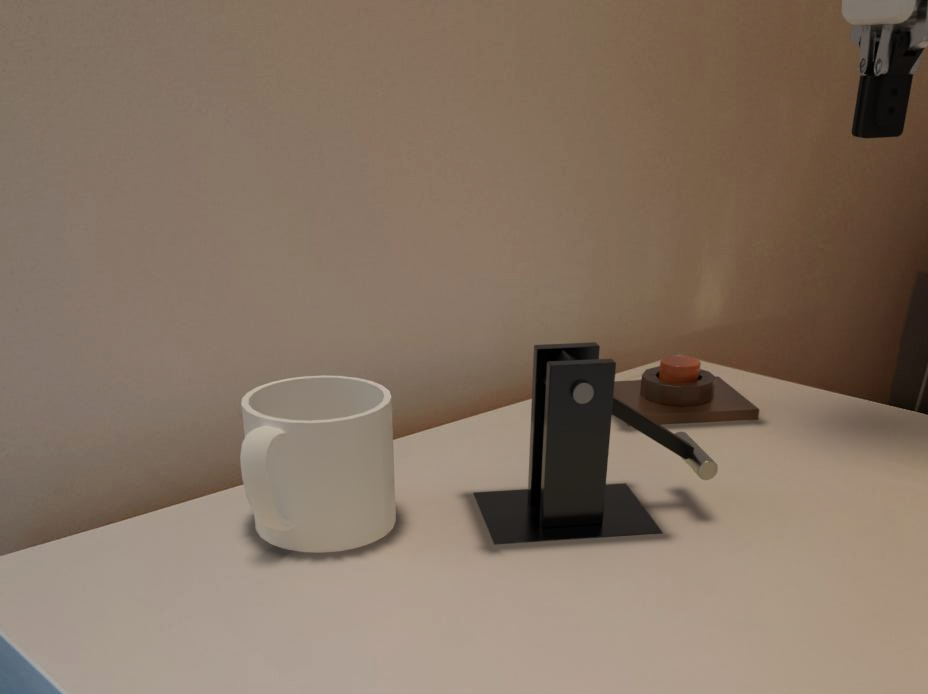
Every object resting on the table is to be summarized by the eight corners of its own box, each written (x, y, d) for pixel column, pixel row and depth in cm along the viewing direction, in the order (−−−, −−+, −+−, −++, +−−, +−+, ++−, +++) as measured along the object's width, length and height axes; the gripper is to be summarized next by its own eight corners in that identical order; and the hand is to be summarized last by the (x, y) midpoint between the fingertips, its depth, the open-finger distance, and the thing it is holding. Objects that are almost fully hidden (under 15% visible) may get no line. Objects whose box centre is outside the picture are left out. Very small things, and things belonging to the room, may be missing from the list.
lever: (676, 458, 75) (696, 431, 74) (705, 489, 70) (726, 461, 69) (536, 372, 70) (555, 342, 69) (556, 399, 65) (577, 367, 64)
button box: (715, 398, 99) (721, 357, 97) (756, 432, 90) (763, 389, 88) (597, 404, 97) (600, 363, 95) (627, 439, 89) (631, 395, 87)
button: (690, 373, 94) (692, 354, 93) (704, 385, 91) (706, 365, 90) (653, 375, 93) (655, 356, 92) (665, 386, 90) (668, 367, 89)
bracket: (624, 498, 78) (640, 332, 71) (661, 549, 70) (683, 368, 64) (472, 507, 76) (474, 339, 70) (493, 560, 69) (497, 377, 62)
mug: (310, 498, 78) (299, 368, 73) (421, 524, 74) (418, 388, 68) (204, 564, 69) (182, 419, 63) (324, 597, 65) (312, 446, 59)
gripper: (1058, -206, 58) (982, 143, 68) (923, -163, 71) (875, 126, 81) (936, -203, 58) (877, 148, 67) (822, -160, 70) (786, 131, 80)
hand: (876, 135), depth 74 cm, fingers closed
